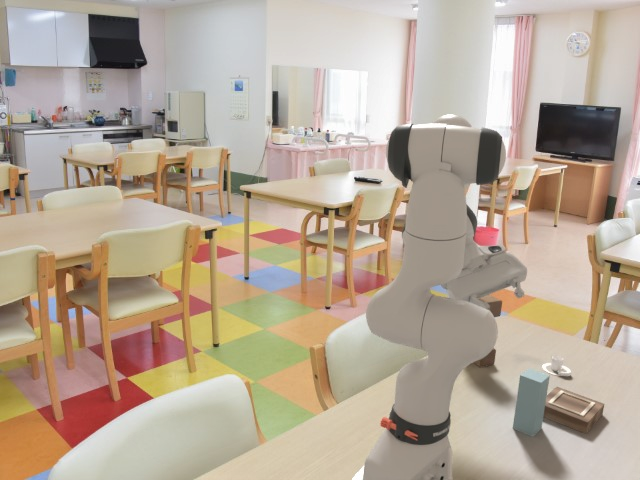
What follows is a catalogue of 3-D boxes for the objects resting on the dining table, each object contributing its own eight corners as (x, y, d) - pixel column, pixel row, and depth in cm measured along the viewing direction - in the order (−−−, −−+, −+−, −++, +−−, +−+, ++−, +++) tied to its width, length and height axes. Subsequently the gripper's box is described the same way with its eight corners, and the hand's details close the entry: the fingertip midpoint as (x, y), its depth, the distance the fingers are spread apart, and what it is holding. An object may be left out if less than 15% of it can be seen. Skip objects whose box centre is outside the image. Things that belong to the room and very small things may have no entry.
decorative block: (495, 364, 174) (503, 300, 169) (479, 368, 172) (487, 303, 167) (471, 349, 184) (478, 288, 179) (456, 352, 182) (462, 290, 176)
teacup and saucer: (574, 380, 168) (576, 367, 167) (544, 376, 169) (546, 363, 168) (567, 366, 176) (569, 353, 175) (539, 363, 178) (541, 350, 177)
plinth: (585, 433, 141) (588, 421, 140) (536, 413, 149) (538, 402, 148) (602, 414, 150) (604, 402, 149) (555, 396, 158) (557, 385, 157)
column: (532, 436, 139) (541, 382, 136) (512, 428, 142) (520, 375, 139) (541, 428, 143) (549, 375, 139) (521, 420, 146) (529, 368, 142)
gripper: (436, 269, 145) (467, 309, 136) (508, 242, 150) (542, 279, 140) (435, 286, 150) (464, 326, 140) (505, 260, 154) (538, 297, 144)
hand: (504, 302), depth 140 cm, fingers open, 8 cm apart
